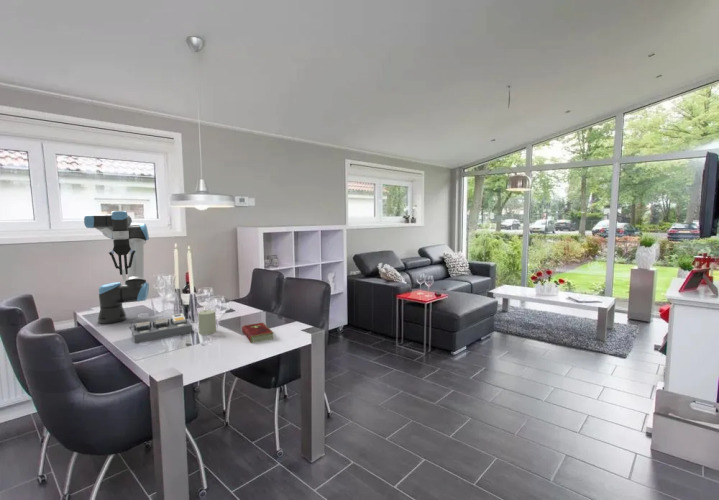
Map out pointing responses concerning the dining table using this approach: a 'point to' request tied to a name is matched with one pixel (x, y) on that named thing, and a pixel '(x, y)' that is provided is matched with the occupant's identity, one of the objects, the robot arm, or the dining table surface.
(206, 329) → the can
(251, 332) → the hardcover book
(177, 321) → the rocker
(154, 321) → the rocker middle
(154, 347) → the dining table surface
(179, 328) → the rocker switch panel
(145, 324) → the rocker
